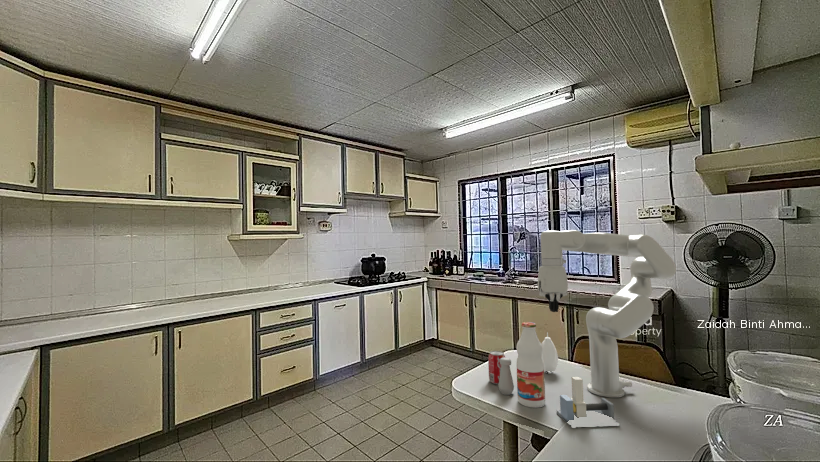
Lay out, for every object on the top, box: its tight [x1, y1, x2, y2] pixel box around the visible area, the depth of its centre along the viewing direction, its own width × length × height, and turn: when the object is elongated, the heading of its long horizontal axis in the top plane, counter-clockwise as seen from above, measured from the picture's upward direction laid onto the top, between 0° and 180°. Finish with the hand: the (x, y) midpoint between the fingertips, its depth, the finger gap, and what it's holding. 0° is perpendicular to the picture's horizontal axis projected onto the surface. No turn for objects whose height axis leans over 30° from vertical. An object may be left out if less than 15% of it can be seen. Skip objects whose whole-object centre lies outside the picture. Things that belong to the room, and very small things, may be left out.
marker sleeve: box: [569, 376, 587, 418], centre depth 112 cm, size 3×4×11 cm
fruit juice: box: [516, 321, 546, 409], centre depth 126 cm, size 9×9×28 cm
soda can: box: [487, 350, 506, 386], centre depth 145 cm, size 7×7×12 cm
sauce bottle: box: [541, 331, 559, 372], centre depth 156 cm, size 8×8×18 cm
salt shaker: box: [497, 356, 515, 396], centre depth 134 cm, size 6×6×13 cm
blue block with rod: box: [556, 394, 615, 424], centre depth 112 cm, size 15×10×7 cm, turn 93°
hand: (553, 311), depth 133 cm, fingers closed
